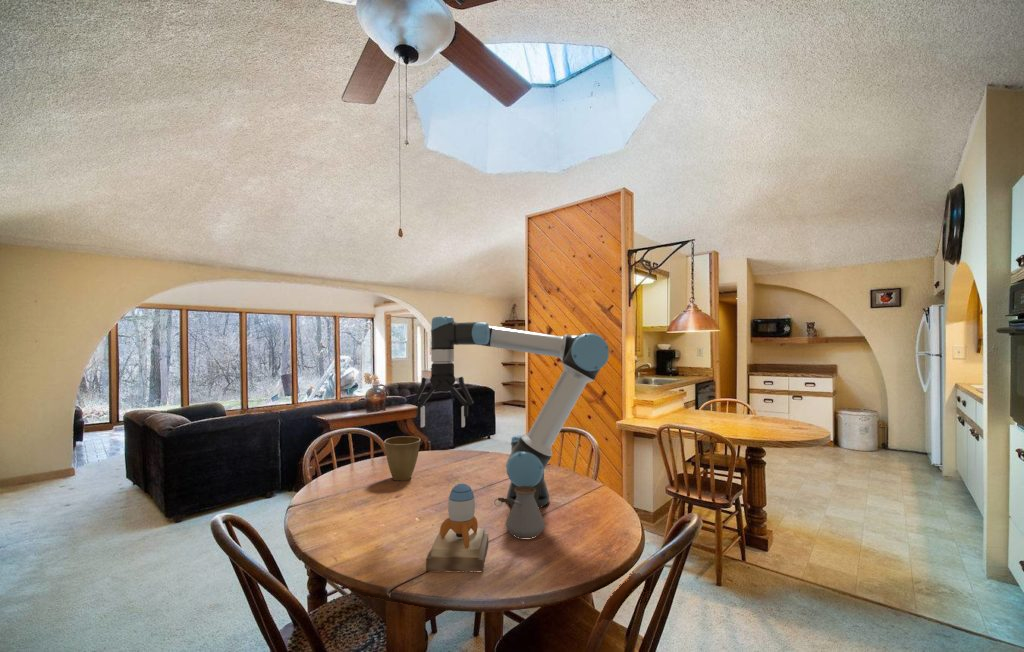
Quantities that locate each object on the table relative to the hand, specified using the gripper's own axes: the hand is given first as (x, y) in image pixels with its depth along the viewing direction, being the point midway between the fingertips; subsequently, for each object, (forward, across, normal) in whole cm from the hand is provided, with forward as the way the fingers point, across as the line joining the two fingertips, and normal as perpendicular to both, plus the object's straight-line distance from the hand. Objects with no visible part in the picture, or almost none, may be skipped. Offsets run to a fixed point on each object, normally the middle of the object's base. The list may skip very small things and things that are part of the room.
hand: (443, 426), depth 139 cm
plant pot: (+29, +25, -37) cm, 53 cm away
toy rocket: (+24, -10, +28) cm, 38 cm away
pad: (+29, -10, +28) cm, 41 cm away
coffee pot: (+29, -25, +18) cm, 42 cm away
